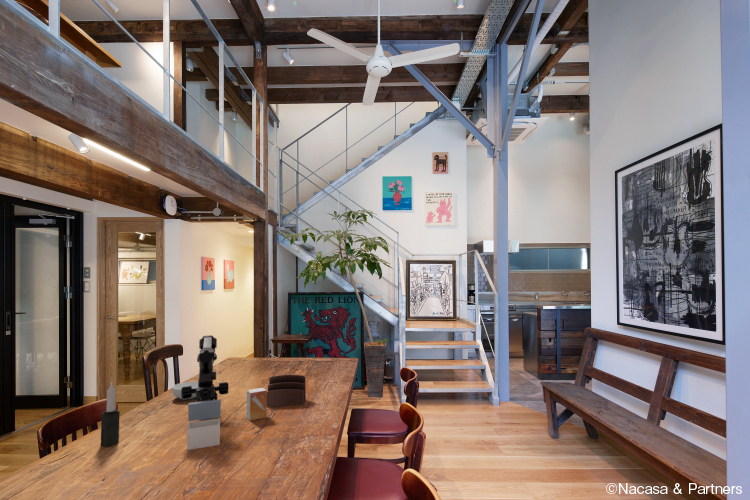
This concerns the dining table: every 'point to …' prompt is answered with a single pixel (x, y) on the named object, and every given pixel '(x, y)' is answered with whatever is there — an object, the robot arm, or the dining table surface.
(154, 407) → the dining table surface
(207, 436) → the storage box
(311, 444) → the dining table surface
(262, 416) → the small box
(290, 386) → the letter holder
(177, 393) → the cereal bowl
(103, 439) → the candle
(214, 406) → the lid
